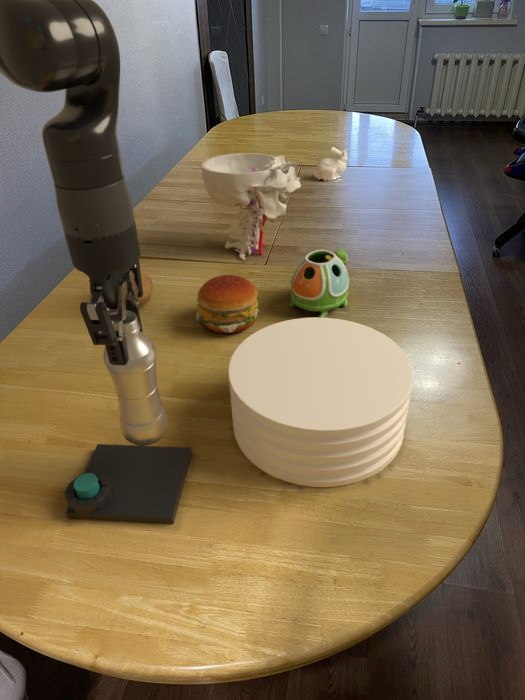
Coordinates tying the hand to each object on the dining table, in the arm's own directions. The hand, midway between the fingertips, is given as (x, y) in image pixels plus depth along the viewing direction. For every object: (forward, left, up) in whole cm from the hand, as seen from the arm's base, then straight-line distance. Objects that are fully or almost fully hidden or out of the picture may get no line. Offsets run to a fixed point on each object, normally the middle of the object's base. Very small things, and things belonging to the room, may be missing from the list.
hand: (127, 348), depth 65 cm
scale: (-2, -3, -23) cm, 23 cm away
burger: (+6, +42, -23) cm, 48 cm away
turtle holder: (+26, +51, -23) cm, 61 cm away
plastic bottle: (0, 0, -16) cm, 16 cm away
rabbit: (+31, +139, -23) cm, 144 cm away
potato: (-17, +49, -23) cm, 57 cm away
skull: (+8, +80, -23) cm, 83 cm away
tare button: (-7, -7, -20) cm, 22 cm away
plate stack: (+25, +12, -23) cm, 36 cm away
